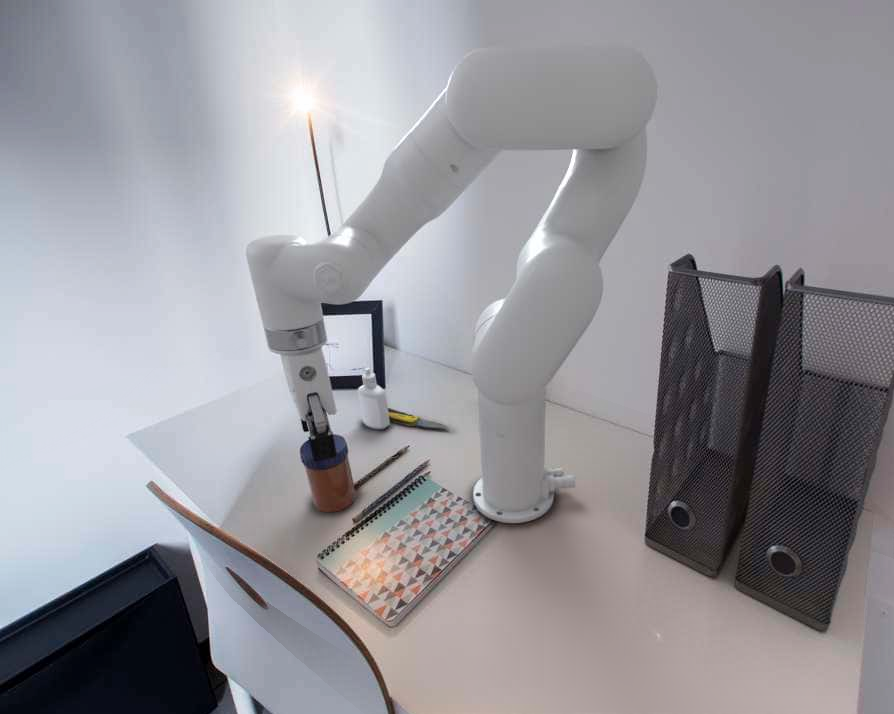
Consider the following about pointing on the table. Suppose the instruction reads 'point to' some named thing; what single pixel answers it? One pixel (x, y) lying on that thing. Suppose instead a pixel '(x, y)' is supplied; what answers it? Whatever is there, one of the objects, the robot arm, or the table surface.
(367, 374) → the eye dropper bottle
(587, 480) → the table surface
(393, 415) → the utility knife
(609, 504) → the table surface
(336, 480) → the jar
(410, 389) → the table surface
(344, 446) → the jar lid
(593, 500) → the table surface
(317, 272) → the robot arm
